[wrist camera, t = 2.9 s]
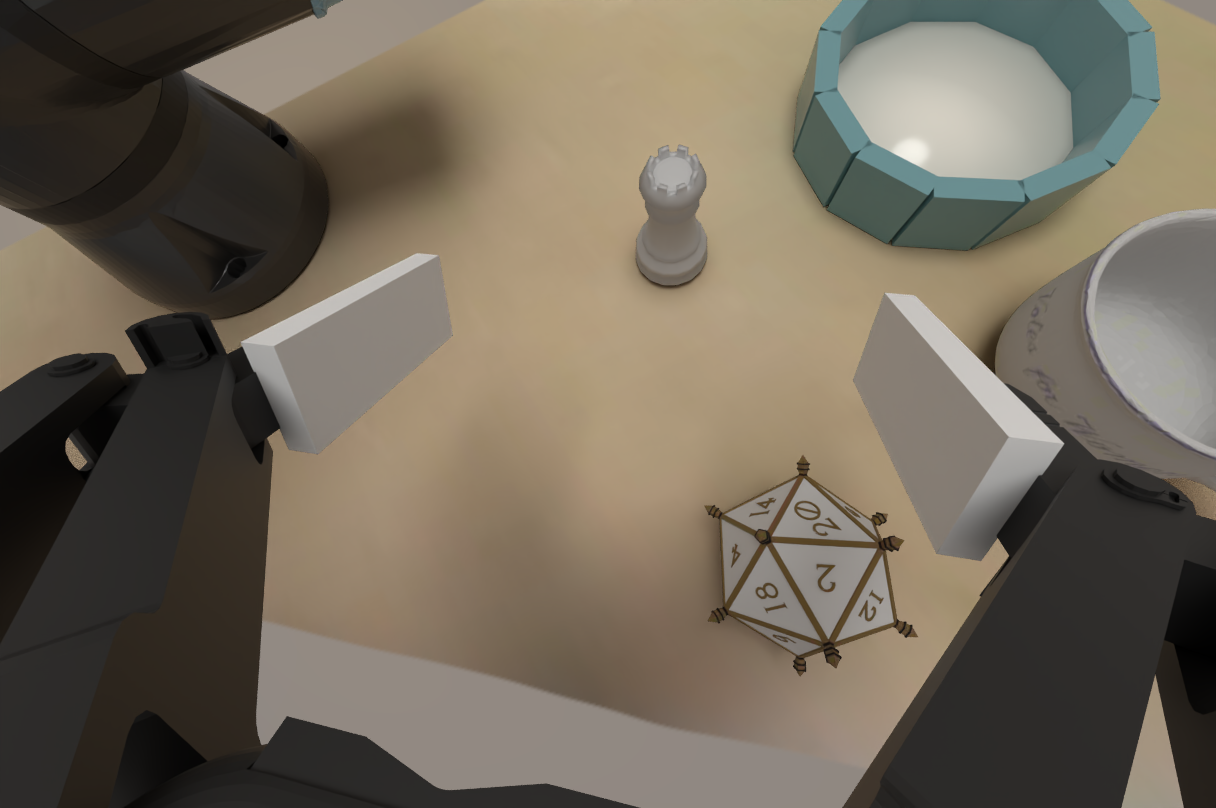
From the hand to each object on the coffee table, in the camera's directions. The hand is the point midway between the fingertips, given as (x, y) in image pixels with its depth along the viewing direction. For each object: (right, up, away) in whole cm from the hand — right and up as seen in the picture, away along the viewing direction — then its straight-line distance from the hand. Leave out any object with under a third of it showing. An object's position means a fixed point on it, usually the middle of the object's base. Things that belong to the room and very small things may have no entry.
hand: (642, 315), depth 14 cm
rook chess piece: (+3, +7, +15) cm, 17 cm away
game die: (+8, -11, +11) cm, 17 cm away
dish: (+19, +14, +15) cm, 28 cm away
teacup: (+24, -3, +11) cm, 27 cm away
